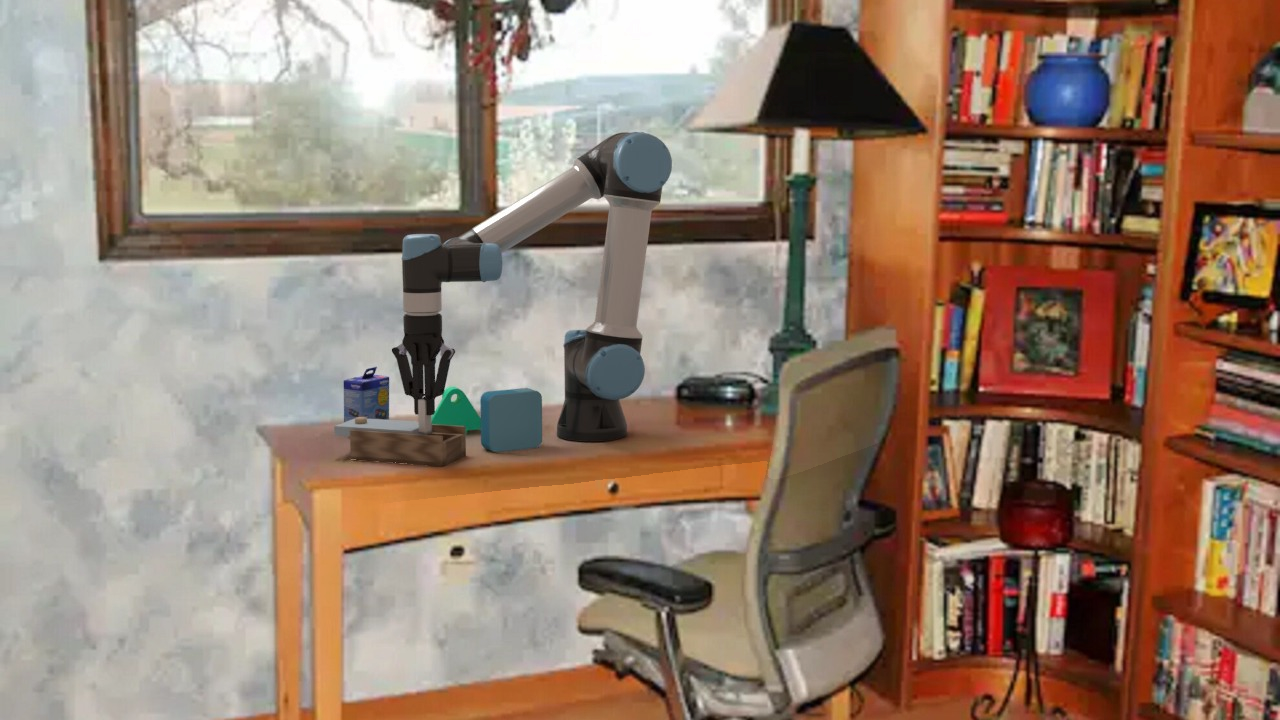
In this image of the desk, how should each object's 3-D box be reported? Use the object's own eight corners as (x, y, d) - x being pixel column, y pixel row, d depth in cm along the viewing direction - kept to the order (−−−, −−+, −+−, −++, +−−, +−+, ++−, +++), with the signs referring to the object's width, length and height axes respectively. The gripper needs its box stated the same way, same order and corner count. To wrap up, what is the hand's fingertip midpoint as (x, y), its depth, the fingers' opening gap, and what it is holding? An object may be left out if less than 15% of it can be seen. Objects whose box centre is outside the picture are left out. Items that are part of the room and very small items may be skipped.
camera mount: (474, 427, 340) (473, 381, 338) (483, 434, 333) (482, 387, 331) (420, 431, 335) (419, 385, 334) (429, 438, 328) (428, 390, 327)
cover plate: (432, 432, 310) (431, 417, 310) (411, 440, 301) (411, 425, 301) (356, 427, 315) (356, 413, 315) (334, 435, 307) (334, 421, 306)
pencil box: (465, 455, 309) (465, 426, 309) (442, 466, 299) (441, 436, 298) (376, 449, 316) (376, 420, 315) (350, 459, 305) (349, 430, 304)
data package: (533, 443, 321) (532, 387, 320) (542, 447, 318) (542, 390, 316) (480, 449, 315) (479, 392, 314) (490, 453, 312) (489, 395, 310)
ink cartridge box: (363, 438, 327) (361, 371, 325) (342, 436, 329) (340, 369, 327) (391, 430, 335) (390, 365, 333) (371, 428, 338) (369, 363, 336)
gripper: (460, 312, 303) (462, 429, 307) (401, 309, 307) (403, 425, 311) (444, 316, 296) (446, 436, 300) (383, 314, 300) (386, 432, 304)
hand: (425, 430), depth 305 cm, fingers closed
